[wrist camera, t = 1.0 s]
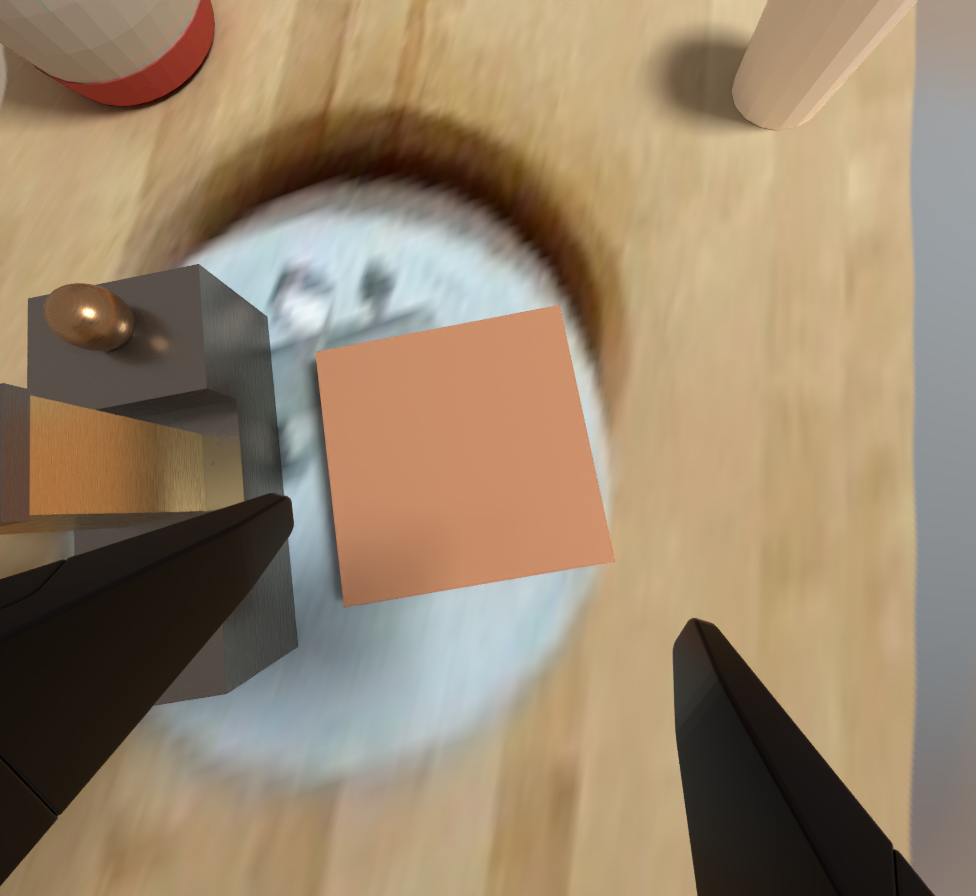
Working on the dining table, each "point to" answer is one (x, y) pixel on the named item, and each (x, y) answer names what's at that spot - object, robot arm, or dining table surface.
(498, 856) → the dining table surface
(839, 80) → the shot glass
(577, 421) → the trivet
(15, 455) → the tan wooden block
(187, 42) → the citrus juicer
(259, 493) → the body
